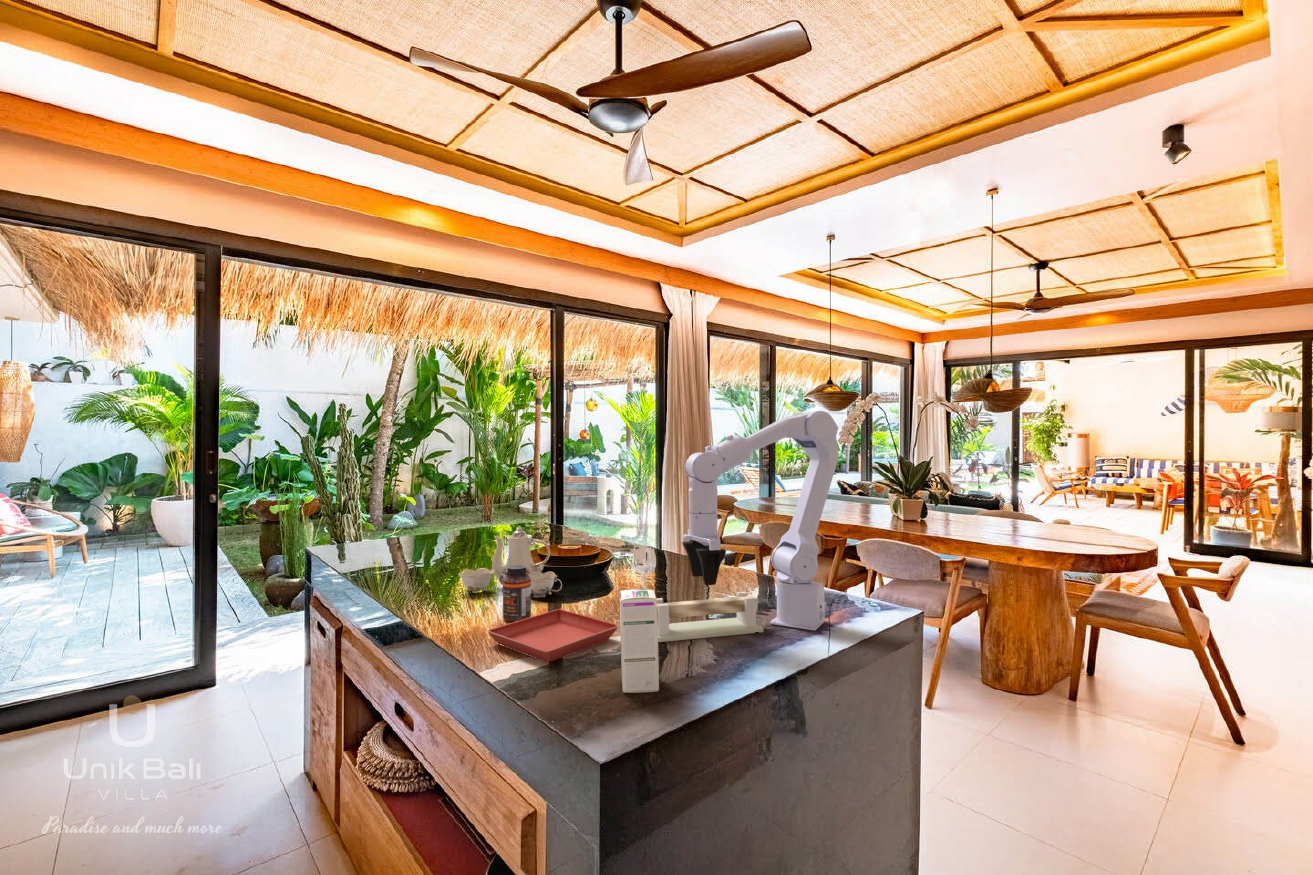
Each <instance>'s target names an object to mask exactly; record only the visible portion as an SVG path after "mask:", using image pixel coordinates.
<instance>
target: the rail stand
mask: <svg viewBox="0 0 1313 875" xmlns="http://www.w3.org/2000/svg"><path fill="white" fill-rule="evenodd" d="M744 596H748V592H747V591H736V596H735V597H744ZM756 598H757V597H755V596H754V597H745V612H736V617H729V618H728V617H727V618H716V619H707V620H695V621H693V620H692V621H683V622H673V623H670V618H669V605H668V604H658V619H657V630H658V643H662V642H664V643H665V642H675V641H683V640H685V641H686V640H693V639H695V640H696V639H703V638H704V639H705V638H714V637H715V638H717V637H726V636H727V637H728V636H736V635H747V634H756V633H755V632H759V633H764V626H761V625H760V624H759V623H757V611H756ZM656 600H657V603H664V599H663V597H660V598H657V597H656Z"/></svg>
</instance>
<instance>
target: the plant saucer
mask: <svg viewBox="0 0 1313 875" xmlns="http://www.w3.org/2000/svg"><path fill="white" fill-rule="evenodd" d="M619 627H620V626H619V624H616V623H612V622H609V621H605V620H601V619H598V618H594V617H591V616H588V615H584V614H580V613H577V612H572V611H568V610H565V609H559V608H558V609H553V610H551V611H547V612H545V613H541V614H537V615H534V616H531V617H530V618H526V619H523V620H520V621H517V622H509V623H507V624H504V625H501V626H496V627H492V628H490V629H488V630H487V633H488V634H489V635H490V637H491V639H493V640H494V641H495V642H497V644H498V645H500V644H502V645H504V646H507V647H509V648H508V649H510V648H512V649H515V650H517V651H516V652H518V651H519V652H518V653H521V652H523V653H526V654H528V655H527V656H529V655H531V656H533V657H532V658H534V657H536V658H535V659H537V658H538V660H540V659H541V660H540V661H542V660H544V661H543V662H545V661H546V662H545V663H551V662H554V661H557V660H559V658H560V659H562V658H564V657H567V655H568V656H570V655H573V654H575V652H576V653H577V652H581V651H583V650H587V649H590V648H592V647H594V646H597V645H599V644H602V642H603V643H605V642H607V641H608V640H609V639H610V638H611V637H612V636H613V635H614V634H615V632H616V631H617V630H618V628H619ZM504 646H503V647H504ZM507 647H506V648H507ZM512 649H511V650H512ZM515 650H514V651H515ZM523 653H522V654H523ZM572 653H573V654H572ZM526 654H525V655H526ZM531 656H530V657H531ZM550 661H551V662H550Z"/></svg>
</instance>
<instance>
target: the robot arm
mask: <svg viewBox="0 0 1313 875" xmlns="http://www.w3.org/2000/svg"><path fill="white" fill-rule="evenodd" d="M838 431H839V426H838V424H837V423H836V422H835V419H834V418H833V417H832V415H831V414H830V413H829V412H826V411H824V410H817V411H811V412H802V411H801V412H796V413H794V414H793V415H788V416H785V417H783V418H780V419H778V420H776V421H774V422H772V423H771V424H768V425H767V426H765V427H763V428H761V429H759V430H757V431H756V432H754V433H752V434H750V435H747V436H746V437H743V436H741V435H738V434H737V435H732V434H729V435H726V436H725V437H724V439H725V440H724V441H721V442H719V443H717V444H714V445H712V446H711V445H707V446H705V447H704V450H705V451H704V452H694V453H692V454H691V455H690V456H689V457H688V458H687V459H686V462H685V465H684V466H683V470H684V473H685V475H686V476H687V477H688V529H687V534H682V536H683V539H684V540H687V541H682V542H681V544H682V546H683V547H684V550H685V552H686V555H687V558H688V562H689V568H690V571H691V572H690V573H691V575H692V577H694V578H695V577H702V579H703V584H704V586H714V585H716V584H717V580H718V575H719V570H720V567H721V564H722V562H723V559H724V557H725V556H726V554H727V549H725V548H721V539H720V536H719V533H718V530H719V529H718V489H717V488H718V486H717V485H718V479H719V478H720V476H721V474H724V473H726V472H728V471H730V470H733V469H734V468H736V467H738V466H740V465H742V464H745V463H746V462H748V461H750V459H751V456H752V453H753V452H755V451H757V450H760V449H762V448H764V447H766V446H769V445H771V444H774V443H776V442H778V441H781V440H784V439H787V438H788V439H792V440H793V441H795V443H797V445H799V446H800V447H801V448H802V449H803V450H804V451H805V453H806V455H807V457H808V459H809V463H808V467H807V470H806V473H805V476H804V480H803V483H802V486H801V489H800V493H799V496H798V500H797V502H796V506H795V510H794V513H793V516H792V518H791V522H790V525H789V528H788V529H789V530H788V531H786V532H785V533H784V534H783V535H782V536H781V537H780V541H779V543H778V545H777V546H775V548H774V549H773V550H772V553H771V555H770V563H771V565H772V567H773V568H774V570H775V571H776V617H774V618H773V619H771V621H770V622H769V624H771V625H776V626H780V627H781V626H783V627H788V628H796V629H803V630H807V631H808V630H809V631H816V630H818V628H820V627H821V626H822V625H823V624H824V623H825V622H826V621H827V619H826V617H825V616H826V615H825V613H826V611H825V610H826V608H825V607H826V606H825V605H826V604H825V601H826V599H825V592H826V591H825V587H824V584H823V583H822V582H820V581H819V582H817V581H814V580H813V579H814V578H815V576H816V575H817V572H818V570H819V562H818V554H819V552H820V548H819V546H818V543H817V541H816V535H817V531H818V530H819V529H818V528H819V525H820V522H821V521H820V520H821V518H822V515H823V511H824V509H825V504H826V501H827V497H828V495H829V492H830V489H831V485H832V482H833V478H834V475H835V470H836V467H837V464H838V461H839V449H838V448H839V447H838V442H837V441H838V440H837V434H838Z"/></svg>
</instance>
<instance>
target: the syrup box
mask: <svg viewBox="0 0 1313 875" xmlns="http://www.w3.org/2000/svg"><path fill="white" fill-rule="evenodd" d="M656 598H657V597H656V593H655V589H653V588H645V589H644V588H632V589H625V590H620V591H619V616H620V617H619V618H620V619H619V621H620V623H619V624H620V626H619V627H620V654H621V656H620V658H621V663H620V664H621V684H622V686H621V687H622V692H623V693H624V694H625V693H630V694H631V693H632V694H633V693H634V694H635V693H636V694H637V693H638V694H639V693H654V692H655V693H656V692H659V690H660V681H659V680H660V679H659V678H660V677H659V676H660V675H659V671H660V670H659V663H660V662H659V642H658V630H657V600H656Z"/></svg>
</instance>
